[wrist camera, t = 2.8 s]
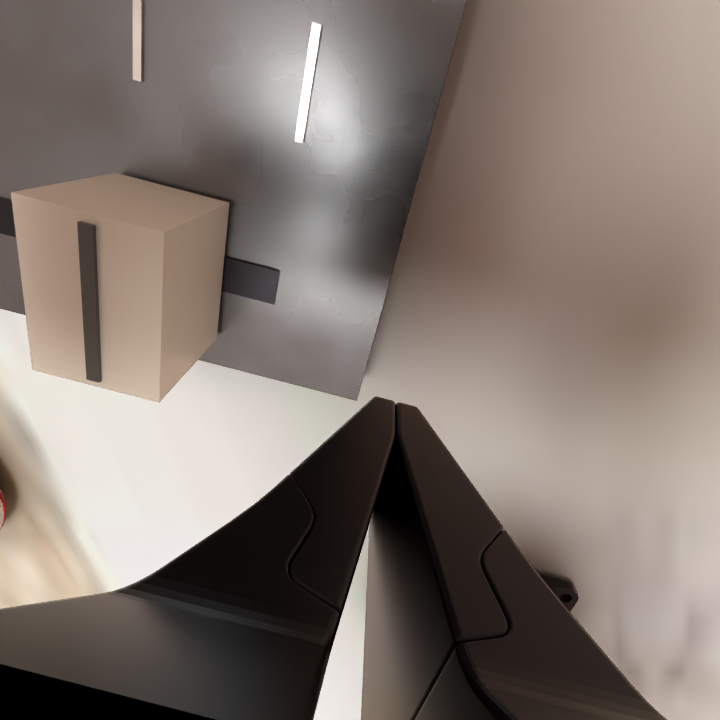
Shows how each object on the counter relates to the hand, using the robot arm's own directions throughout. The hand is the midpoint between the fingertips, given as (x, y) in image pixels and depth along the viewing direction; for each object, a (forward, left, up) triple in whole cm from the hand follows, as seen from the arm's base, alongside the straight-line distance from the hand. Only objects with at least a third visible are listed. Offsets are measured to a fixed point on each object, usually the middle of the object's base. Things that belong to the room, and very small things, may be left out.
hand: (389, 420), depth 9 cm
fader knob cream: (+7, 0, -5) cm, 8 cm away
